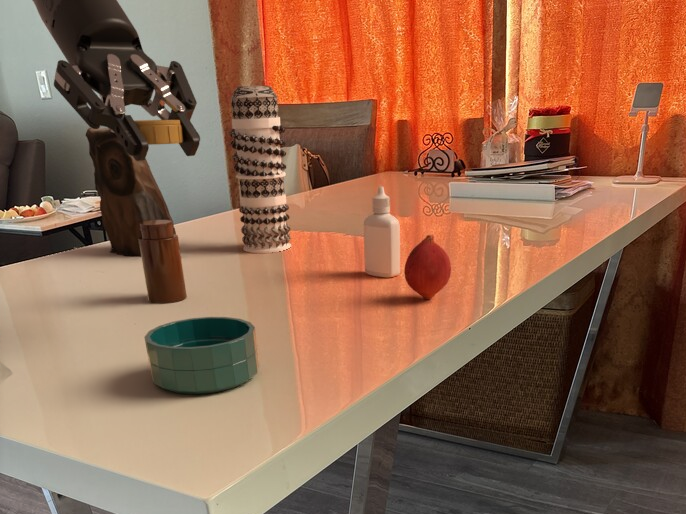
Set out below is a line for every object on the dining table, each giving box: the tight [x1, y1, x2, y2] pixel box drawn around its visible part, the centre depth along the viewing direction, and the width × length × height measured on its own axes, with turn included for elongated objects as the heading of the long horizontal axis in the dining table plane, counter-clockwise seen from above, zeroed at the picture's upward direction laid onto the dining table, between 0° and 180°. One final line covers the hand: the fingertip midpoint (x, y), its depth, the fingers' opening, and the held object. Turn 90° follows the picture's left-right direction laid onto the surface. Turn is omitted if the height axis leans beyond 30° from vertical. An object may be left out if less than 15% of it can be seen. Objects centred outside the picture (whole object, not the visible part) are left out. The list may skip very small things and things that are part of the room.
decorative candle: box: [228, 85, 292, 254], centre depth 120 cm, size 9×9×25 cm
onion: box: [403, 233, 452, 300], centre depth 89 cm, size 6×6×8 cm
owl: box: [85, 127, 177, 257], centre depth 123 cm, size 13×13×20 cm
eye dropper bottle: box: [363, 185, 401, 279], centre depth 102 cm, size 4×6×12 cm
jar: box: [138, 220, 188, 304], centre depth 94 cm, size 5×5×10 cm
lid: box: [134, 119, 183, 146], centre depth 71 cm, size 5×5×2 cm
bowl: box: [144, 316, 260, 395], centre depth 67 cm, size 10×10×4 cm
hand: (168, 151), depth 71 cm, fingers closed on lid, 5 cm apart
